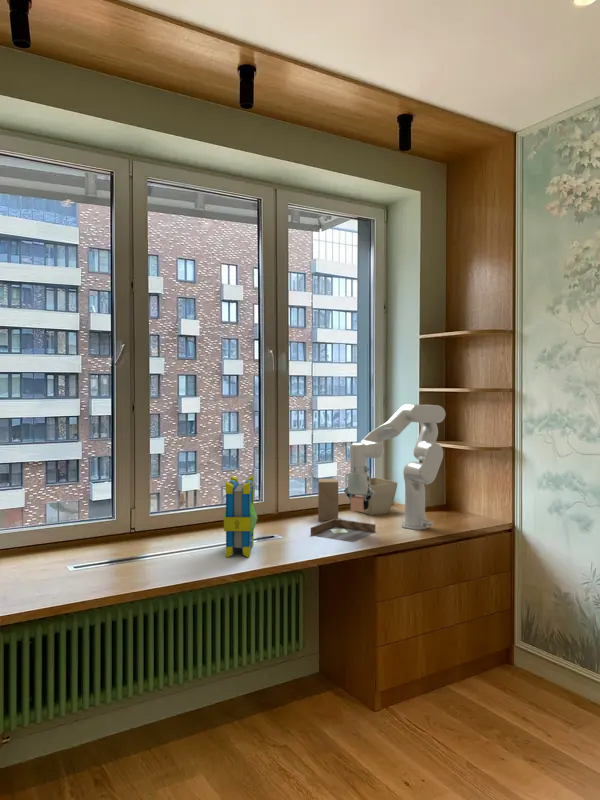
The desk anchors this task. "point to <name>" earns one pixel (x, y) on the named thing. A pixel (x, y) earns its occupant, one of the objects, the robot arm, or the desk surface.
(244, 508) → the decorative book
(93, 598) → the desk surface
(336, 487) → the wooden block
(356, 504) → the cube
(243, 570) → the desk surface
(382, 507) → the flower pot
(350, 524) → the tray
